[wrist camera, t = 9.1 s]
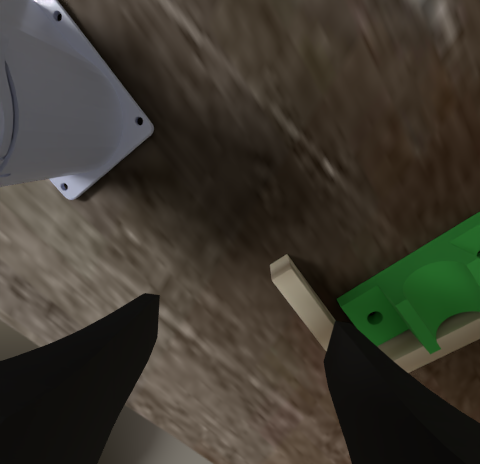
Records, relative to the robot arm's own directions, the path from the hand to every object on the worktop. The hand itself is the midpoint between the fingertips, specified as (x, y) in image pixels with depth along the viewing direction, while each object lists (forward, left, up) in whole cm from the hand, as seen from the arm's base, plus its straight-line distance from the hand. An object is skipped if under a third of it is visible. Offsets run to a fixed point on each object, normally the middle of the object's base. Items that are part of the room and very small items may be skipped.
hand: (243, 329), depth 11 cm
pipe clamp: (+7, +9, -8) cm, 13 cm away
